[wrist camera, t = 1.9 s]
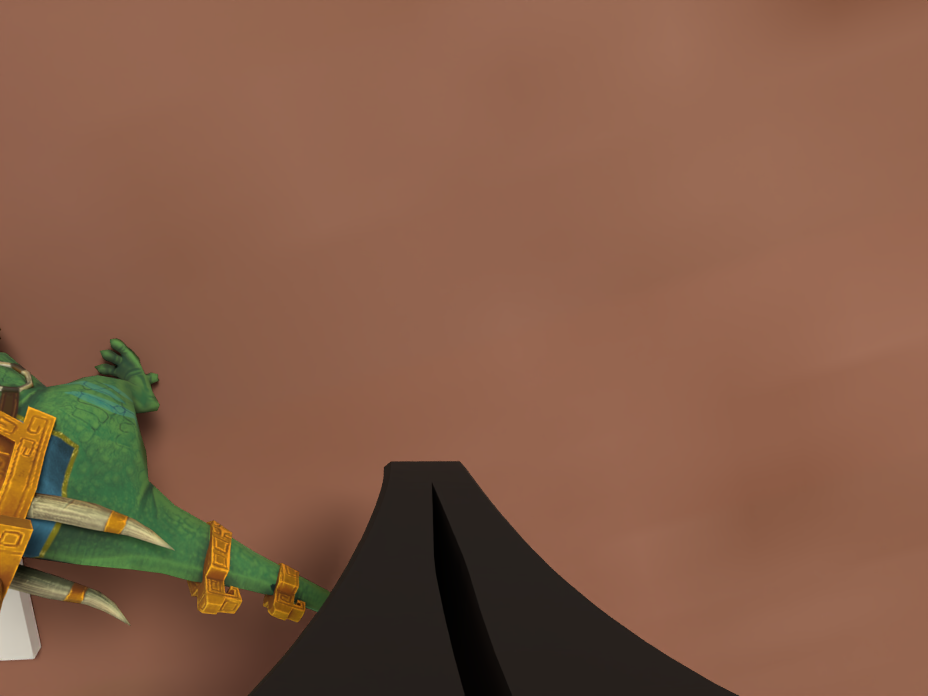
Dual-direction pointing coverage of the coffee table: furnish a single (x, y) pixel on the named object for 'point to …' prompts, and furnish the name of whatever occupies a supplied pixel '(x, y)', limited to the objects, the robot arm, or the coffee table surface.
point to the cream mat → (18, 627)
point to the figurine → (111, 498)
